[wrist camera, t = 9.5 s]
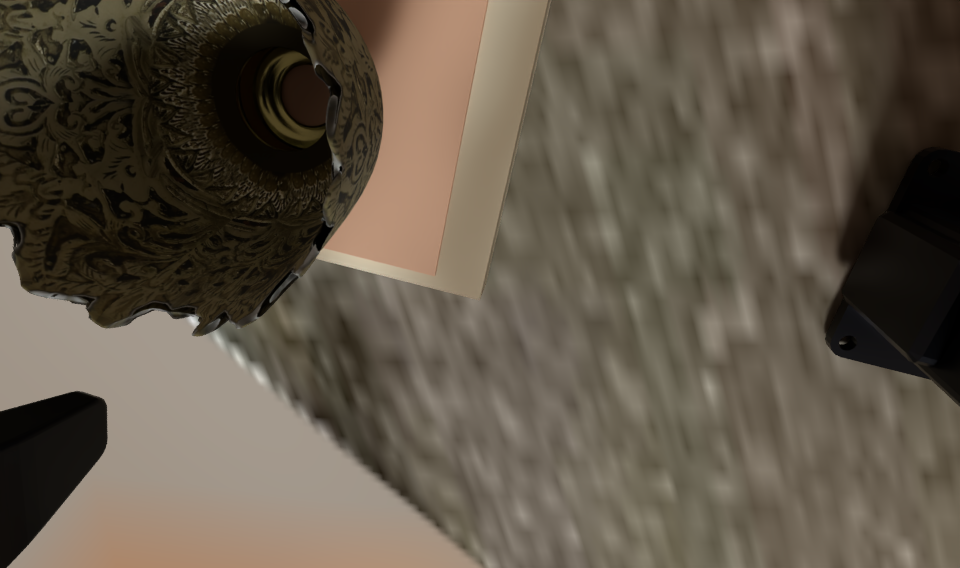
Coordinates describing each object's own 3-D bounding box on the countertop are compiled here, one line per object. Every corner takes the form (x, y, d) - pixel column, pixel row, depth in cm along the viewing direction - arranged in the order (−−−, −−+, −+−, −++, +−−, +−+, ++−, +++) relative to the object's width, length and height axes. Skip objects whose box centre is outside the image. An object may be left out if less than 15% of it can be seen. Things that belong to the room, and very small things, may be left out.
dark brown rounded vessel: (194, 202, 19) (-55, 304, 11) (176, -68, 16) (-173, -169, 8) (428, 240, 18) (326, 375, 11) (452, -36, 15) (336, -114, 8)
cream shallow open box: (563, -51, 16) (559, -81, 12) (486, 282, 20) (465, 335, 16) (146, -141, 17) (26, -194, 13) (151, 198, 21) (59, 231, 17)
